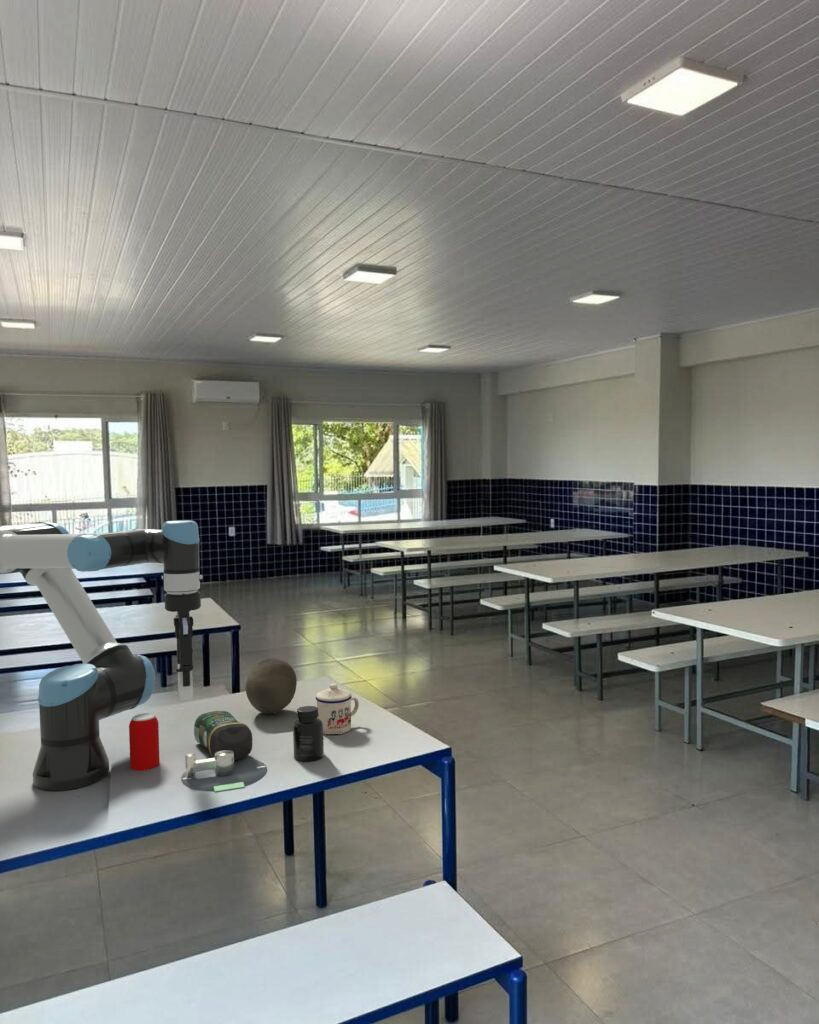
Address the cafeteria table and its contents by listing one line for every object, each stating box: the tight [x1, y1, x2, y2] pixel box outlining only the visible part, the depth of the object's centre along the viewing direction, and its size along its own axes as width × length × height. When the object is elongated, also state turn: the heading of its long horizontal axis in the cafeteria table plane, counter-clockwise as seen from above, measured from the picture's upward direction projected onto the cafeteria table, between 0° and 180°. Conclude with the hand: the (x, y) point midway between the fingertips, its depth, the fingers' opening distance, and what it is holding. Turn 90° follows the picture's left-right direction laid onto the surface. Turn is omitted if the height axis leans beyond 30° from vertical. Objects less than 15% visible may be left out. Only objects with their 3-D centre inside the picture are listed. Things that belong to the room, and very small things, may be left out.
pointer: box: [184, 750, 234, 778], centre depth 158 cm, size 10×4×5 cm, turn 111°
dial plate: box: [180, 757, 268, 793], centre depth 159 cm, size 18×18×1 cm
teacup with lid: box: [315, 683, 360, 735], centre depth 189 cm, size 12×9×12 cm
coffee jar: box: [193, 710, 253, 760], centre depth 172 cm, size 10×8×19 cm
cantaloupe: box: [245, 657, 298, 715], centre depth 200 cm, size 14×14×15 cm
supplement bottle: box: [292, 705, 325, 763], centre depth 168 cm, size 7×7×12 cm
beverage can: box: [128, 712, 161, 772], centre depth 164 cm, size 6×6×12 cm
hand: (185, 696), depth 162 cm, fingers open, 5 cm apart
